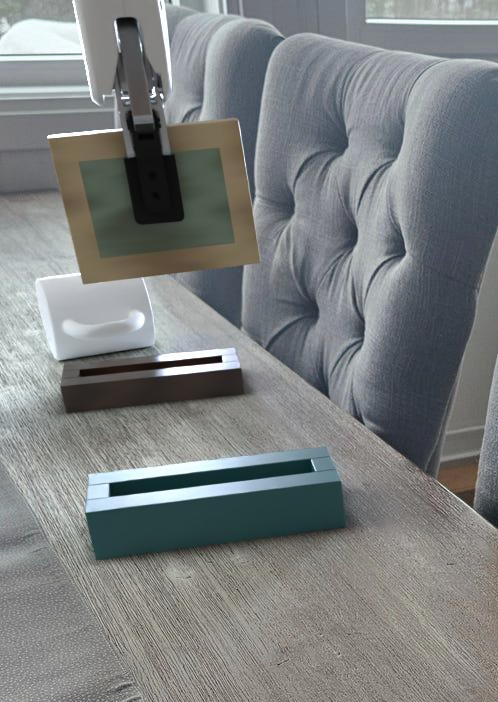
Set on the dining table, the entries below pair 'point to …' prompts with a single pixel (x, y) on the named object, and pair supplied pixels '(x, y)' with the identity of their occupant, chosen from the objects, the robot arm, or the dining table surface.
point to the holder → (213, 502)
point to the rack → (151, 380)
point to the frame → (162, 238)
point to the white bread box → (94, 315)
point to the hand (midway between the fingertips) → (159, 217)
